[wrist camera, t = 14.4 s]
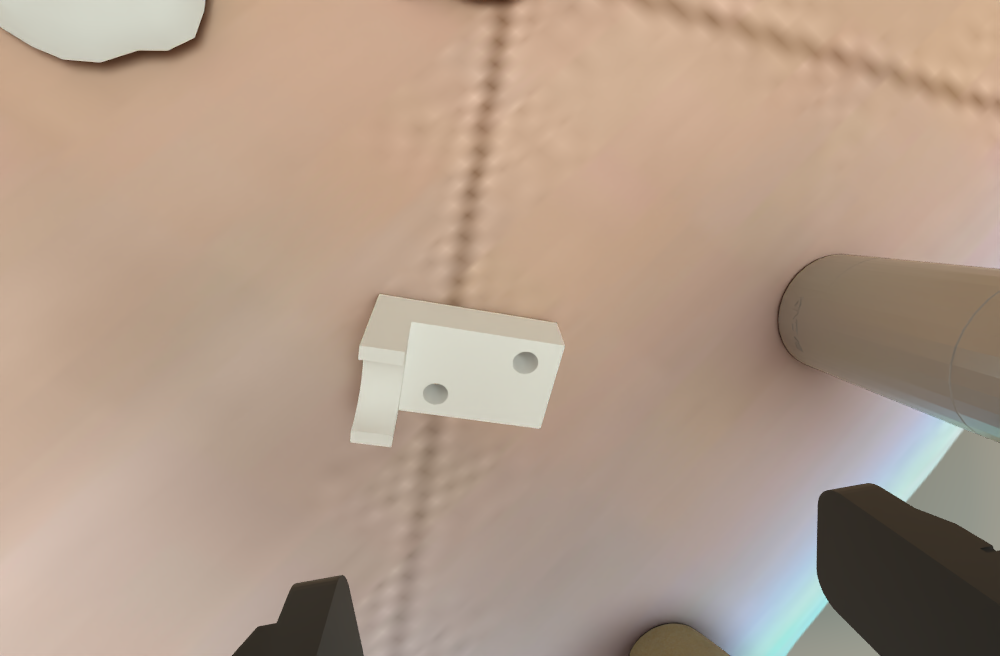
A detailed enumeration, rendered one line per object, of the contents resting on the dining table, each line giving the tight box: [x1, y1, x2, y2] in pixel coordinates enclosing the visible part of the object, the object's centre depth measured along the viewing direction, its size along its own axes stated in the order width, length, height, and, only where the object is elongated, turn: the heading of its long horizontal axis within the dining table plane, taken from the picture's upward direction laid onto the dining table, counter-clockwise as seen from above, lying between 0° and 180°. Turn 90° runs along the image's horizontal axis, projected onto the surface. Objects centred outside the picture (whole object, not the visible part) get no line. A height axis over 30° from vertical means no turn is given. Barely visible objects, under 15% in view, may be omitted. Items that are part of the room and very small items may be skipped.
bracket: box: [350, 294, 565, 447], centre depth 35 cm, size 13×7×8 cm, turn 80°
